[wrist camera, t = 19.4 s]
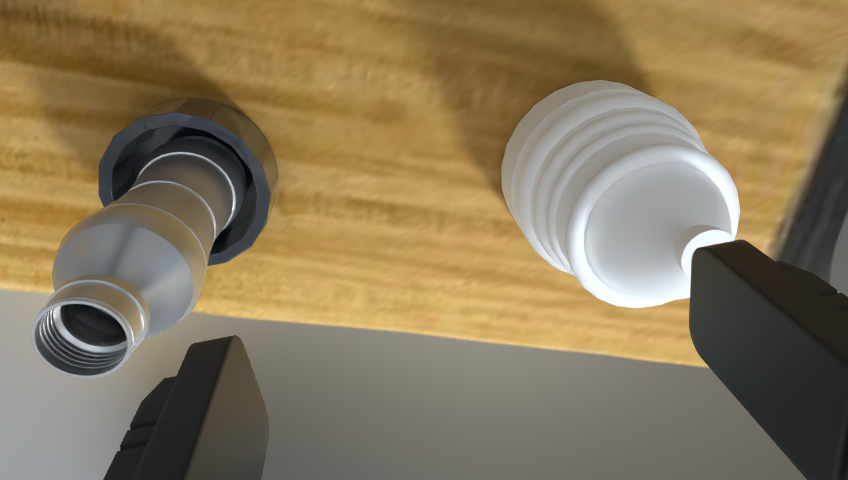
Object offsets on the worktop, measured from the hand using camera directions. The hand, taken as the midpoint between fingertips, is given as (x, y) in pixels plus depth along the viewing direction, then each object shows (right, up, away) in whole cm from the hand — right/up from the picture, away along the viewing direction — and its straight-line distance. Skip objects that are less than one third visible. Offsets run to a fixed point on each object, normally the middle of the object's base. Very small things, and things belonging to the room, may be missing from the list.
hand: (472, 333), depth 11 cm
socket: (-16, +6, +31) cm, 35 cm away
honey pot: (+11, +7, +34) cm, 36 cm away
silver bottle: (-16, +6, +30) cm, 35 cm away
